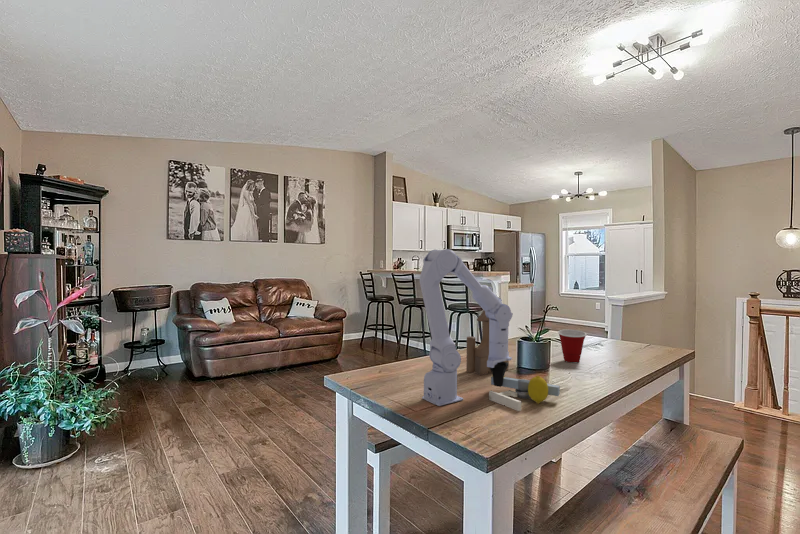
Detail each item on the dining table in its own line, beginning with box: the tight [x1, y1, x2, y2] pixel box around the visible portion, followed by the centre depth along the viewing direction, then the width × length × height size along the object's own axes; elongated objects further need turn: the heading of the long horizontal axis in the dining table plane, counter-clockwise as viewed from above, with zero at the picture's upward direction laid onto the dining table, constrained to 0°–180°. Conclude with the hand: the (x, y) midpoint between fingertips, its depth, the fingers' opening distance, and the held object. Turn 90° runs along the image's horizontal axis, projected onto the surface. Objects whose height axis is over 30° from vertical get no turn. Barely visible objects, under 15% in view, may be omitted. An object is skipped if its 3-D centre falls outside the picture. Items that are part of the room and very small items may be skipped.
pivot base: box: [514, 389, 531, 400], centre depth 124 cm, size 5×5×2 cm
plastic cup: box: [557, 329, 588, 363], centre depth 166 cm, size 11×11×12 cm
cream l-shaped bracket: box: [488, 389, 522, 412], centre depth 118 cm, size 9×11×2 cm
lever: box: [490, 374, 561, 397], centre depth 124 cm, size 4×20×3 cm, turn 57°
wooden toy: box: [465, 310, 510, 376], centre depth 151 cm, size 16×7×25 cm, turn 119°
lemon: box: [528, 375, 548, 405], centre depth 117 cm, size 6×6×8 cm
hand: (498, 385), depth 126 cm, fingers closed
